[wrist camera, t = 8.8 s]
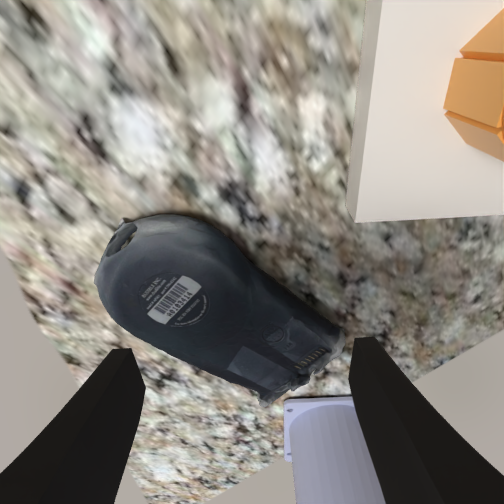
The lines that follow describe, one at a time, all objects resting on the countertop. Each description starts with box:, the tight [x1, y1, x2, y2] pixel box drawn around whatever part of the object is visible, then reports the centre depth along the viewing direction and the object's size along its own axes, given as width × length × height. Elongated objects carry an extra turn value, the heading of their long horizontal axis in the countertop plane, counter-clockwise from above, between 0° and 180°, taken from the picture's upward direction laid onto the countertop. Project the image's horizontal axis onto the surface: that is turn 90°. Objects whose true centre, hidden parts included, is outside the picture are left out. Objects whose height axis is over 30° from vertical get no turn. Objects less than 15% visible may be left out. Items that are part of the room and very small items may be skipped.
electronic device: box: [94, 214, 345, 407], centre depth 21 cm, size 9×6×15 cm
